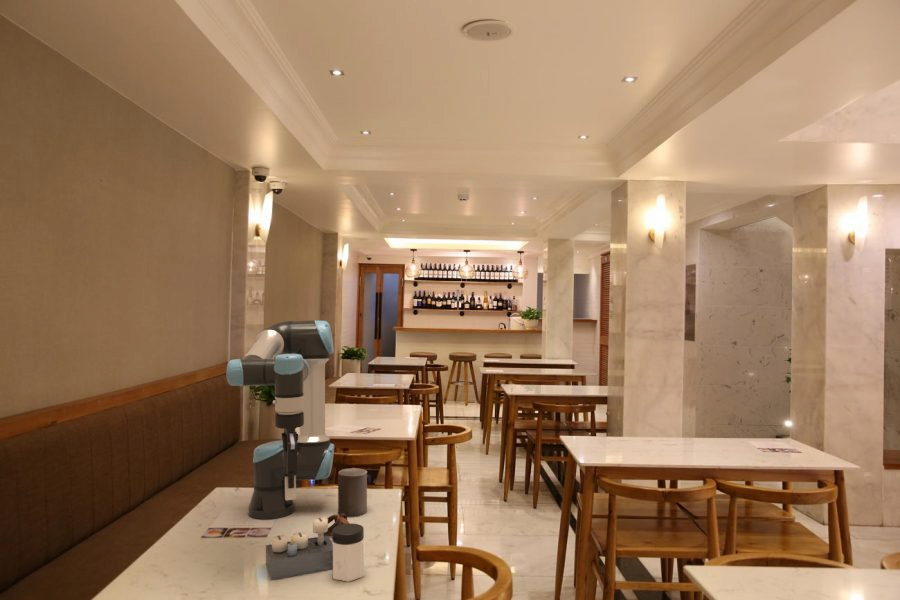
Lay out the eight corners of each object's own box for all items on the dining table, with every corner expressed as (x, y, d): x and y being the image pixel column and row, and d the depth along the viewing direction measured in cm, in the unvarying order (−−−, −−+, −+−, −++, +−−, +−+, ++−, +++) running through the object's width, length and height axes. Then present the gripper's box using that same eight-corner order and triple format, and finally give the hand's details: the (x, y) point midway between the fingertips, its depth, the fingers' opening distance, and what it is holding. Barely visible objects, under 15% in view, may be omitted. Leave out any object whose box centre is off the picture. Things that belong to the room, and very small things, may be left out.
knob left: (271, 566, 169) (270, 536, 169) (286, 563, 171) (285, 533, 171) (273, 572, 166) (272, 541, 166) (288, 569, 167) (288, 538, 167)
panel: (266, 563, 172) (265, 545, 172) (327, 552, 178) (327, 535, 178) (271, 580, 162) (271, 560, 162) (336, 568, 168) (336, 549, 168)
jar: (325, 578, 162) (324, 532, 162) (341, 565, 170) (341, 521, 170) (355, 583, 159) (354, 536, 159) (371, 570, 167) (370, 525, 166)
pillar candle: (338, 518, 206) (339, 472, 206) (337, 508, 215) (337, 464, 215) (368, 516, 208) (368, 471, 208) (365, 506, 218) (365, 463, 218)
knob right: (312, 547, 174) (311, 518, 174) (326, 544, 175) (326, 515, 175) (314, 552, 170) (314, 522, 170) (329, 550, 172) (329, 520, 171)
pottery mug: (353, 546, 184) (338, 525, 182) (326, 559, 185) (311, 537, 184) (360, 522, 195) (347, 501, 194) (335, 533, 197) (321, 513, 195)
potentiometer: (287, 553, 166) (286, 536, 166) (296, 551, 167) (296, 534, 167) (288, 556, 164) (288, 539, 164) (297, 555, 165) (297, 537, 165)
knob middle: (291, 562, 171) (291, 533, 171) (306, 560, 173) (306, 530, 173) (294, 568, 168) (294, 538, 168) (309, 565, 169) (309, 535, 169)
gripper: (272, 408, 174) (273, 493, 174) (277, 417, 162) (278, 508, 162) (300, 406, 177) (301, 490, 177) (307, 414, 164) (308, 504, 165)
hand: (290, 498), depth 169 cm, fingers closed
